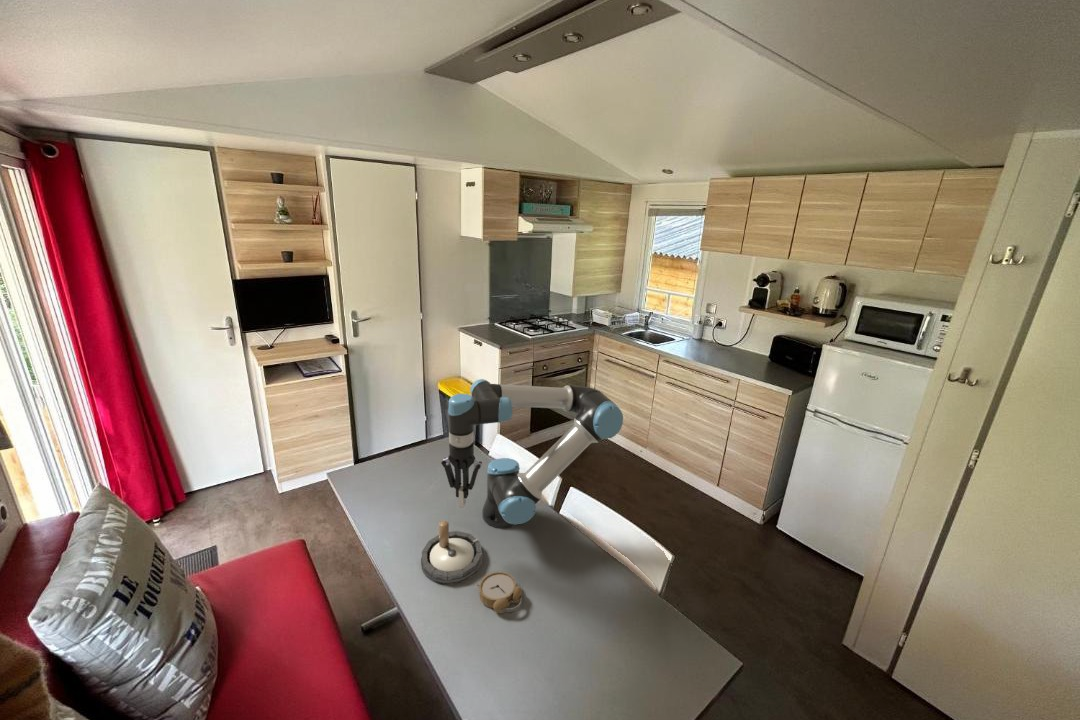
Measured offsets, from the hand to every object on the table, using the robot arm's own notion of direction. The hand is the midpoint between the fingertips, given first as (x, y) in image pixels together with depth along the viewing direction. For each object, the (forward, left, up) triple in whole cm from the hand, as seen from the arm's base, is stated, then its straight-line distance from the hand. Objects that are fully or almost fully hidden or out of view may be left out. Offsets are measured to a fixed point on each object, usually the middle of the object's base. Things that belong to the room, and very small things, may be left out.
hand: (462, 504), depth 143 cm
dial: (+4, +4, -17) cm, 18 cm away
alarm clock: (-9, +22, -19) cm, 31 cm away
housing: (+4, +4, -19) cm, 19 cm away
